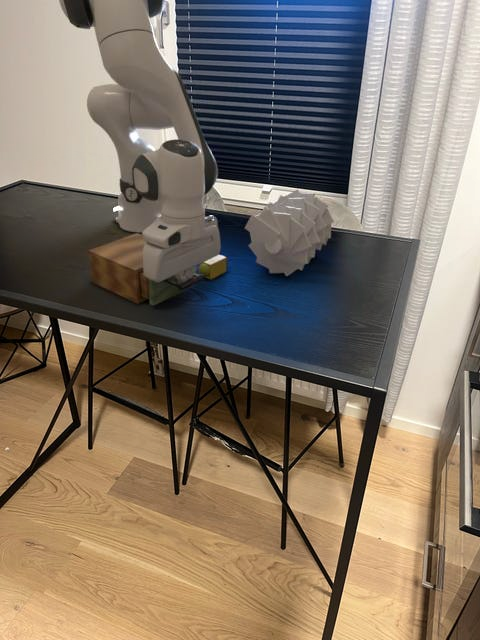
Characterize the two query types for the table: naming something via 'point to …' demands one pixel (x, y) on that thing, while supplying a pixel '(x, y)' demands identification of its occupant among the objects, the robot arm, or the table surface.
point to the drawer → (164, 287)
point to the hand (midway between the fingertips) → (185, 285)
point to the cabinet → (119, 266)
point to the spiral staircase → (289, 232)
